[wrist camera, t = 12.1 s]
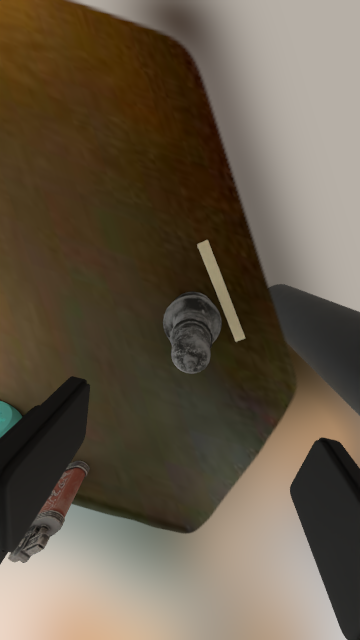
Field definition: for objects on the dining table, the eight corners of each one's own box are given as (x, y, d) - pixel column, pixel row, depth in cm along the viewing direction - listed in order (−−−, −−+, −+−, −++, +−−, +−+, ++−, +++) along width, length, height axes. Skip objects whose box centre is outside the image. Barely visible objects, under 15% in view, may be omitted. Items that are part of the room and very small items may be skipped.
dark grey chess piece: (181, 345, 26) (171, 418, 15) (158, 303, 25) (126, 348, 13) (226, 324, 25) (252, 387, 13) (204, 279, 23) (212, 307, 12)
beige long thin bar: (245, 338, 25) (245, 338, 25) (235, 341, 25) (235, 341, 25) (207, 239, 22) (207, 239, 22) (197, 244, 22) (197, 244, 22)
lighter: (60, 489, 36) (12, 575, 26) (46, 476, 35) (-10, 560, 26) (94, 470, 34) (54, 556, 24) (79, 457, 33) (32, 539, 24)
